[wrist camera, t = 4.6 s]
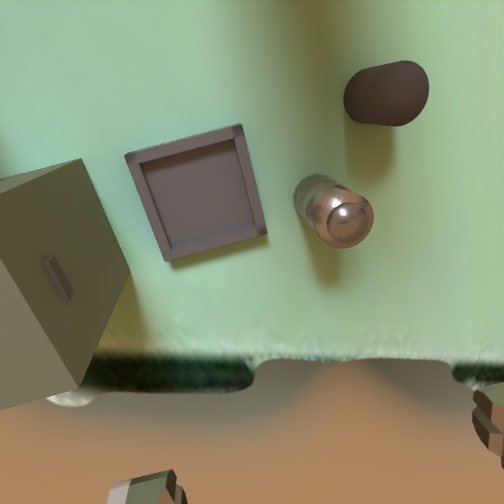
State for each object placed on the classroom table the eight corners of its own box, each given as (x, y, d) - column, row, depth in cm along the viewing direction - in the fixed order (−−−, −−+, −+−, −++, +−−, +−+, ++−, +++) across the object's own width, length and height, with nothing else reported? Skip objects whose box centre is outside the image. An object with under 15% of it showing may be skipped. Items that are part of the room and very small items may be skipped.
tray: (239, 123, 27) (241, 124, 26) (264, 227, 31) (267, 233, 29) (127, 152, 27) (124, 155, 25) (166, 254, 31) (164, 261, 29)
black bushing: (389, 62, 27) (428, 53, 22) (393, 115, 28) (429, 118, 24) (340, 75, 27) (369, 69, 22) (346, 128, 28) (374, 133, 24)
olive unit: (84, 157, 27) (-24, 205, 14) (133, 269, 31) (84, 386, 18) (-16, 183, 26) (-220, 257, 14) (47, 292, 30) (-65, 428, 18)
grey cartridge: (334, 169, 30) (375, 188, 23) (340, 212, 31) (379, 243, 24) (289, 181, 29) (316, 204, 23) (297, 224, 31) (325, 258, 24)
